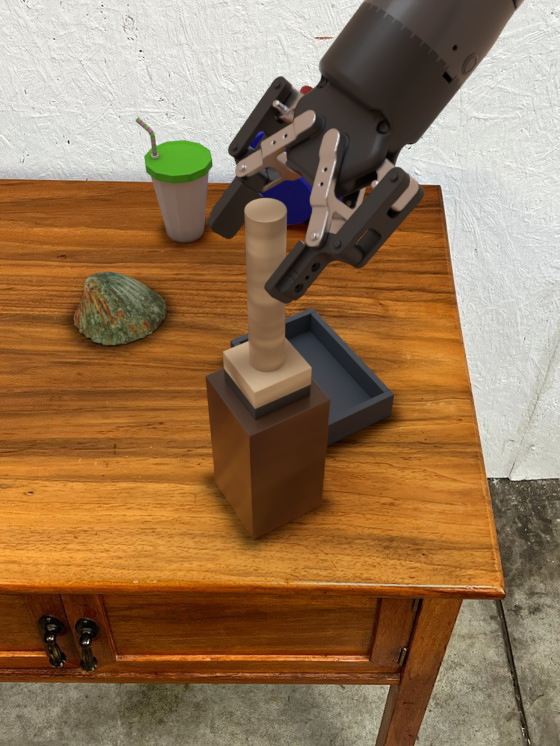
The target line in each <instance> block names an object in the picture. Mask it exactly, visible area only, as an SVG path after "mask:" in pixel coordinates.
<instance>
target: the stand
mask: <svg viewBox="0 0 560 746" xmlns="http://www.w3.org/2000/svg"><path fill="white" fill-rule="evenodd" d="M205 385H206V386H205V387H206V398H207V399H206V400H207V407H208V409H207V410H208V419H209V421H208V422H209V430H210V432H209V433H210V442H211V452H212V464H213V475H214V483H215V485H216V486H217V488H218V489H219V491H220V493H221V494H222V496H223V497H224V498H225V500H226V502H227V504H228V505H229V506H230V508H231V509H232V510H233V511H234V514H235V516H237V518H238V520H239V521H240V523H241V524H242V526H243V527H244V529H245V530H246V532H247V533H248V535H249V536H250V538H251V540H252V541H254V540H257V539H259V538H260V537H262V536H265V535H266V534H269V533H270V532H272V531H274V530H276V529H279V528H280V527H282V526H284V525H286V524H288V523H290V522H293V521H294V520H296V519H298V518H300V517H302V516H304V515H306V514H308V513H310V512H312V511H313V510H315V509H318V508H319V507H321V506H322V505H323V496H324V485H325V473H326V458H327V448H328V446H327V436H328V423H329V411H330V398H329V397H328V396H327V395H326V394H325V392H324V391H323V390H322V389H321V388H320V387H319V386H318V384H317V383H316V382H315V381H314V380H313V379H312V377H311V392H310V396H308V397H305V398H303V399H301V400H299V401H296V402H294V403H292V404H290V405H287V406H285V407H283V408H281V409H279V410H276V411H274V412H272V413H270V414H267V415H265V416H263V417H261V418H258V419H256V420H255V419H254V417H253V416H252V415H251V413H250V412H249V411H248V409H247V408H246V407H245V405H244V404H243V403H242V401H241V400H240V399H239V397H238V396H237V395H236V394H235V392H234V391H233V390H232V388H231V387H230V386H229V384H228V383H227V382H226V380H225V377H224V367H223V368H220V369H218V370H216V371H213V372H211V373H209V374H206V375H205Z"/></svg>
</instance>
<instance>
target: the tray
mask: <svg viewBox="0 0 560 746" xmlns="http://www.w3.org/2000/svg"><path fill="white" fill-rule="evenodd" d="M285 338H286V339H287V340H288V341H289V342H290V344H291V345H292V346H293V347H294V348H295V349H296V350H297V352H298V353H299V354H300V355H301V356H302V357H303V358H304V360H305V361H306V362H307V363H308V364H309V365H310V366H311V368H312V372H311V377H312V379H313V380H314V381H315V382H316V383H317V384H318V386H319V387H320V388H321V389H322V390H323V391H324V392H325V394H326V395H327V396H328V397H329V398H330V411H329V423H328V436H327V447H329V446H330V445H333V444H334V443H338V442H339V441H341V440H343V439H345V438H347V437H350V436H351V435H353V434H356V433H357V432H359V431H362V430H364V429H365V428H367V427H370V426H372V425H373V424H376V423H378V422H380V421H382V420H385V419H386V418H388V417H390V416H392V411H393V405H394V399H395V393H394V392H393V391H392V390H391V389H390V388H389V387H388V386H387V385H386V384H385V382H383V380H381V378H379V376H377V374H376V373H375V372H374V371H373V370H372V369H371V368H370V367H369V366H368V365H367V364H366V363H365V362H364V360H362V359H361V357H360V356H359V355H358V354H357V353H356V352H355V351H354V350H353V349H352V348H351V347H350V346H349V345H348V343H347V342H346V341H344V339H343V338H342V337H340V335H339V334H338V333H337V332H336V331H335V330H334V329H333V328H332V327H331V326H330V325H329V323H327V321H326V320H325V319H324V318H323V317H322V316H321V315H320V314H319V313H318V312H317V310H316V309H314V307H310V308H308V309H305V310H303V311H300V312H298V313H295V314H293V315H290V316H287V317H285ZM245 342H248V333H245V334H243V335H240V336H238V337H235V338H232V339H231V340H229V344H230V349H231V348H233V347H235V346H238V345H240V344H243V343H245Z"/></svg>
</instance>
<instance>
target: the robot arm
mask: <svg viewBox="0 0 560 746" xmlns="http://www.w3.org/2000/svg"><path fill="white" fill-rule="evenodd" d="M524 2H525V0H363V1H362V2H361V4H360V5H359V7H358V8H357V9H356V10H355V12H354V13H353V15H352V16H351V17H350V19H349V20H348V22H347V23H346V24H345V26H344V27H343V29H341V31H340V32H339V34H338V35H337V36H336V38H335V39H334V40H333V42H332V43H331V45H329V48H328V49H327V50H326V52H325V53H324V54H323V55H322V57H321V59H320V60H319V62H318V71H319V74H320V80H319V81H318V83H317V84H316V85H315V86H314V87H312V88H313V89H312V90H311V91H309V92H308V93H306V94H305V95H304V94H302V93H301V92H300V89H298V88H297V87H296V86H295V85H293V84H292V83H291V82H290V81H289V80H288V79H286V78H285V77H284V76H282V75H279V76H276V78H274V79H273V80H272V82H271V83H270V85H269V86H268V88H267V89H266V91H265V92H264V94H263V95H262V96H261V98H260V99H259V101H258V103H257V104H256V105H255V106H254V108H253V109H252V111H251V112H250V113H249V116H248V117H247V118H246V120H245V121H244V122H243V124H242V125H241V127H240V129H239V130H238V131H237V133H236V134H235V136H234V137H233V139H232V140H231V142H230V143H229V145H228V148H227V153H228V155H229V156H230V157H232V158H233V160H234V162H235V165H236V166H235V169H234V174H235V176H234V178H233V180H232V181H231V182H230V184H228V186H227V187H226V189H225V190H224V192H223V193H222V195H221V196H220V197H219V199H218V200H217V201H216V203H215V204H214V205H213V207H212V208H211V211H210V215H209V216H208V218H207V219H206V226H207V227H208V228H209V229H210V230H211V231H212V232H213V233H214V234H217V235H218V236H220V237H221V238H223V239H226V240H231V239H233V238H234V237H235V236H236V235H237V233H239V231H240V229H241V228H242V227H243V226H244V225H245V214H244V210H245V207H246V205H247V204H248V203H249V202H251V201H253V200H256V199H260V198H264V197H263V196H262V195H261V194H260V193H259V192H260V191H261V192H265V191H267V190H269V189H271V188H273V187H274V186H276V185H278V184H280V183H282V182H283V181H286V180H289V181H294V180H297V179H299V178H301V177H303V178H304V180H305V182H307V183H308V184H309V185H310V186H311V187H312V192H311V196H310V205H311V207H312V214H311V218H310V222H309V225H308V226H307V229H306V234H305V237H304V241H305V242H303V241H302V240H301V239H298V240H297V242H296V243H295V245H294V246H293V247H292V248H291V250H290V251H289V252H288V254H286V257H285V259H284V260H283V261H282V263H281V264H280V265H279V266H278V268H277V269H276V270H275V272H274V273H273V274H272V275H271V277H270V278H269V279H268V281H267V282H266V283H265V286H264V289H265V290H266V292H267V293H268V294H269V295H270V296H271V297H272V298H274V299H276V300H278V301H280V302H282V303H284V304H285V305H288V304H291V303H292V302H293V301H294V302H297V301H298V300H299V299H301V298H302V297H304V295H305V294H306V292H307V291H308V289H310V288H311V286H312V284H314V282H315V281H316V280H317V279H318V277H320V275H321V274H322V273H323V271H324V270H325V269H326V267H327V266H328V265H329V264H331V263H333V262H341V263H343V264H346V265H349V266H351V267H353V268H355V269H358V270H359V269H362V268H364V267H365V266H366V265H367V264H368V263H369V262H370V260H371V259H372V258H373V257H374V256H375V255H376V253H377V252H378V251H379V250H380V249H381V248H382V247H383V245H384V244H385V243H386V242H387V241H388V239H390V237H391V236H392V235H393V234H394V233H395V231H396V230H397V229H399V227H400V226H401V225H402V223H403V222H404V221H405V220H406V219H407V217H408V216H410V214H411V213H412V212H413V211H414V210H415V209H416V207H417V206H418V205H419V204H420V203H421V201H422V200H423V199H424V197H425V188H424V187H423V186H422V185H421V184H420V183H419V182H418V180H416V179H415V178H414V177H413V176H412V175H411V174H410V173H409V172H406V171H405V170H404V169H403V168H402V167H400V166H397V165H396V164H397V161H398V158H399V156H400V153H401V151H402V150H403V149H404V147H406V146H407V145H411V146H412V145H414V144H416V143H418V142H419V141H420V140H421V138H422V137H423V136H424V134H425V133H426V132H427V131H428V129H429V128H430V127H431V126H432V125H433V123H434V122H435V121H436V119H437V118H438V117H439V116H440V115H441V113H442V112H443V111H444V110H445V108H446V107H447V106H448V104H449V103H450V102H451V101H452V100H453V98H454V97H455V95H456V94H457V93H458V92H459V90H460V89H461V88H462V87H463V85H465V83H466V81H467V80H468V79H469V78H470V77H471V75H472V74H473V73H474V71H475V70H476V69H477V68H478V66H479V65H480V64H481V63H482V62H483V60H484V59H485V57H486V56H487V55H488V54H489V52H490V51H491V50H492V48H493V47H494V45H495V44H496V42H497V41H498V39H499V37H500V35H501V34H502V32H503V31H504V29H505V28H506V26H507V24H508V23H509V21H510V20H511V18H512V17H513V16H514V14H515V12H517V10H519V8H520V7H521V5H522V4H524ZM261 131H263V132H264V135H263V137H262V139H261V140H260V142H259V143H258V144H257V146H256V147H255V149H253V148H251V147H250V145H251V143H252V142H253V140H254V139H255V138H256V136H257V135H258V133H259V132H261ZM286 150H287V151H286ZM285 151H286V152H285ZM268 167H270V168H268ZM265 168H268V169H267V170H265ZM368 187H371V189H372V190H371V191H370V193H368V195H367V196H366V197H365V193H366V189H367V188H368ZM364 197H365V198H364ZM339 198H342V200H341V201H339V200H338V199H339ZM330 223H331V224H330ZM329 227H330V228H329ZM328 231H329V232H328Z"/></svg>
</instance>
